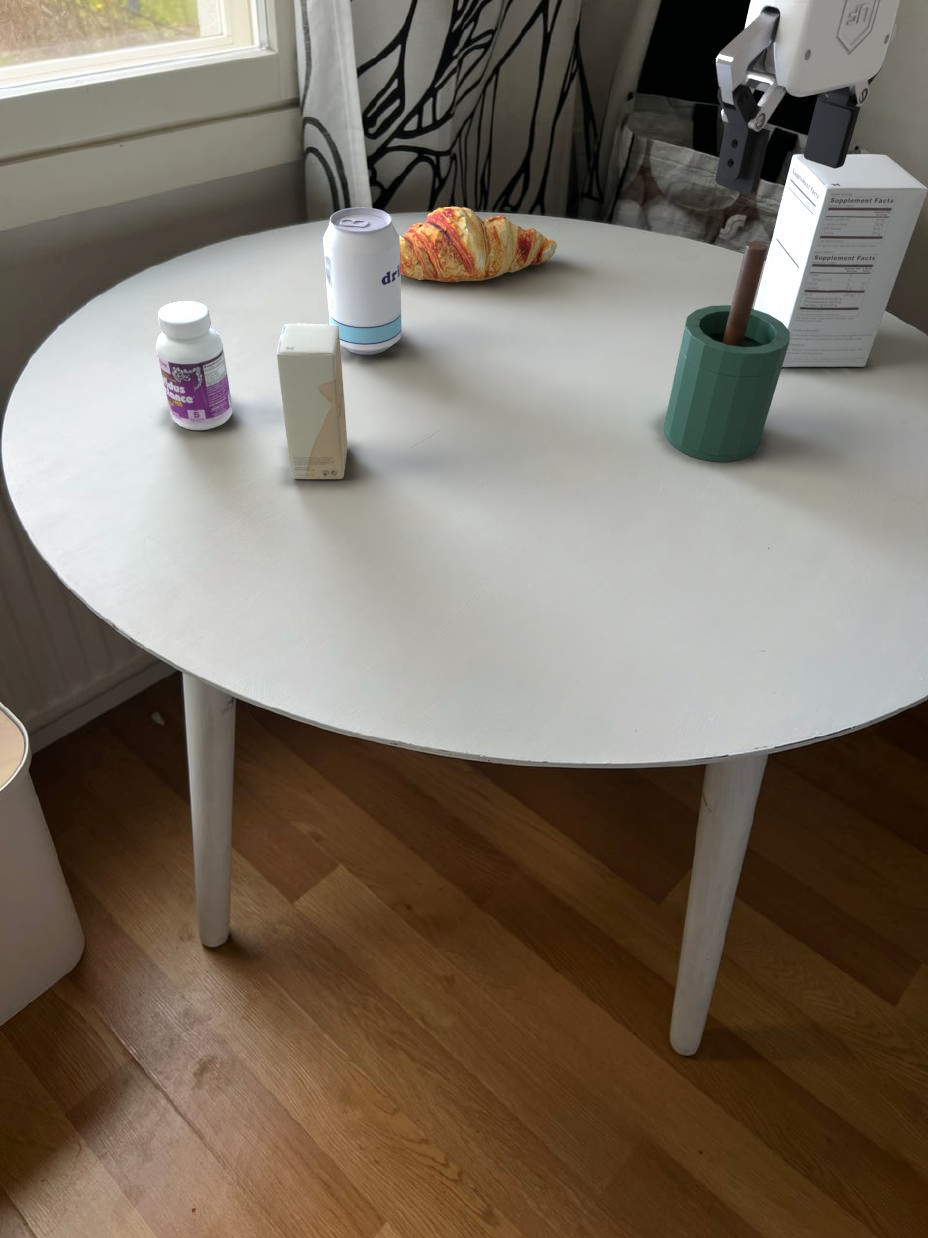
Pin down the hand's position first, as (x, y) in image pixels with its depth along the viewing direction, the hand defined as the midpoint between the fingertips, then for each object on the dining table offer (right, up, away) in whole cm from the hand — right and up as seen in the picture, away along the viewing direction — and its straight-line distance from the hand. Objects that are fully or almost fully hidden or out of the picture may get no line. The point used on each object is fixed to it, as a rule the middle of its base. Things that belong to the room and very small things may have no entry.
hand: (780, 175), depth 65 cm
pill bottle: (-45, -14, +16) cm, 50 cm away
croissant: (-22, +8, +38) cm, 45 cm away
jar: (-1, -15, +16) cm, 22 cm away
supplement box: (+12, -4, +28) cm, 31 cm away
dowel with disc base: (-1, -15, +15) cm, 21 cm away
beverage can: (-32, -4, +26) cm, 41 cm away
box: (-34, -19, +11) cm, 41 cm away
